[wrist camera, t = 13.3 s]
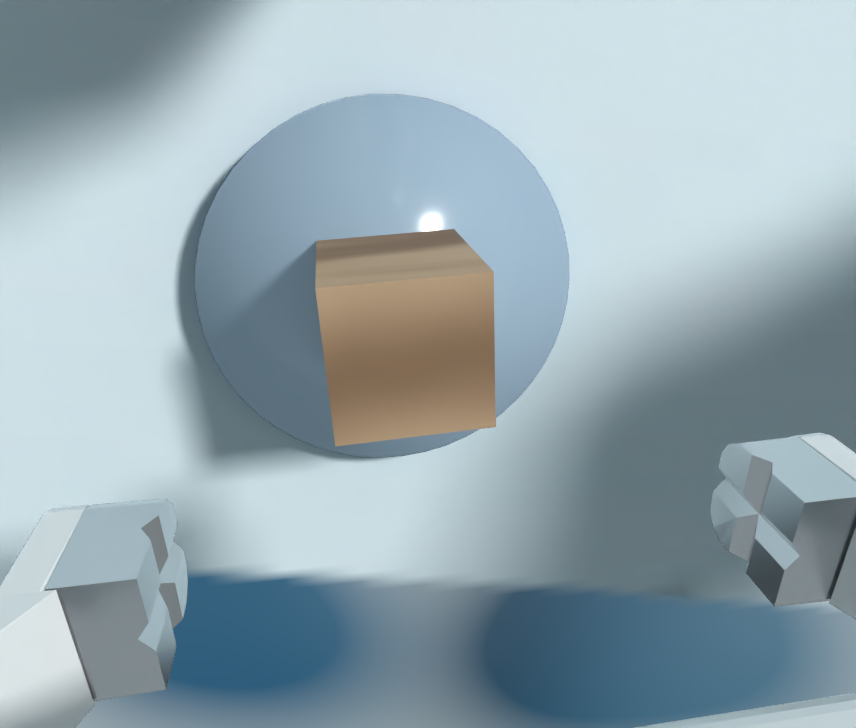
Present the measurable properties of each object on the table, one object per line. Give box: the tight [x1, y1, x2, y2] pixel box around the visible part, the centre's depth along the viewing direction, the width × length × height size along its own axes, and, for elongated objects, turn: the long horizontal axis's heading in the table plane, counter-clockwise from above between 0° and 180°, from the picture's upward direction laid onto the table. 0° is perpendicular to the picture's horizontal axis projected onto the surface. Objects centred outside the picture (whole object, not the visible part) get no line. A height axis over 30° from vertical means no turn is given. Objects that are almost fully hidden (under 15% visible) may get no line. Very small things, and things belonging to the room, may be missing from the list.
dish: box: [195, 94, 569, 457], centre depth 25 cm, size 14×14×1 cm
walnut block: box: [315, 229, 496, 446], centre depth 22 cm, size 5×5×6 cm
